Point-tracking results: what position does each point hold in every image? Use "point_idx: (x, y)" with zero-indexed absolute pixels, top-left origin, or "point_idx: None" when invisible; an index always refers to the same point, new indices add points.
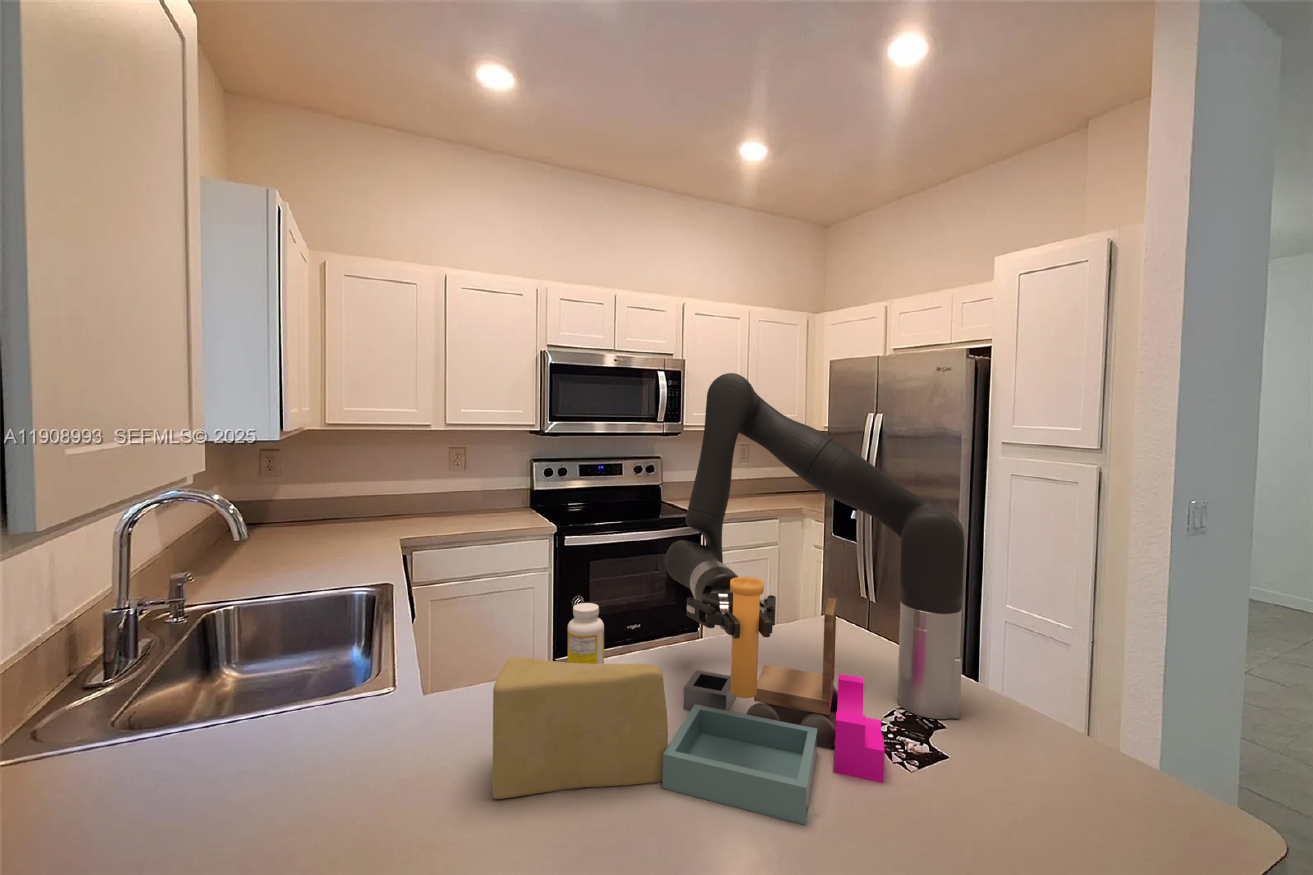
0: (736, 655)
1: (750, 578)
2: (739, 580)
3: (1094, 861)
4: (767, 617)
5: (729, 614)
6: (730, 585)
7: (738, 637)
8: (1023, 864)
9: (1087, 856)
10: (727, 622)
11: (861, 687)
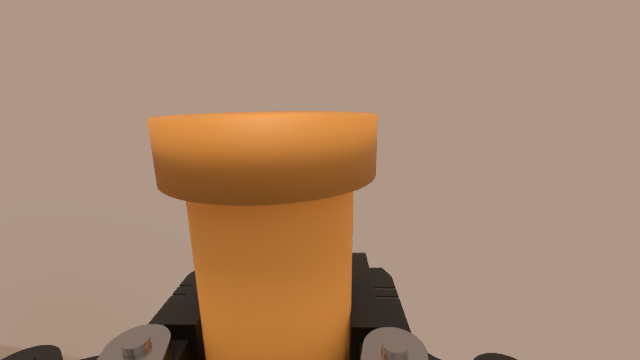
0: None
1: (191, 119)
2: (307, 115)
3: (9, 350)
4: (168, 306)
5: (371, 309)
6: (376, 140)
7: None
8: (77, 357)
9: (3, 355)
10: (390, 280)
11: None
